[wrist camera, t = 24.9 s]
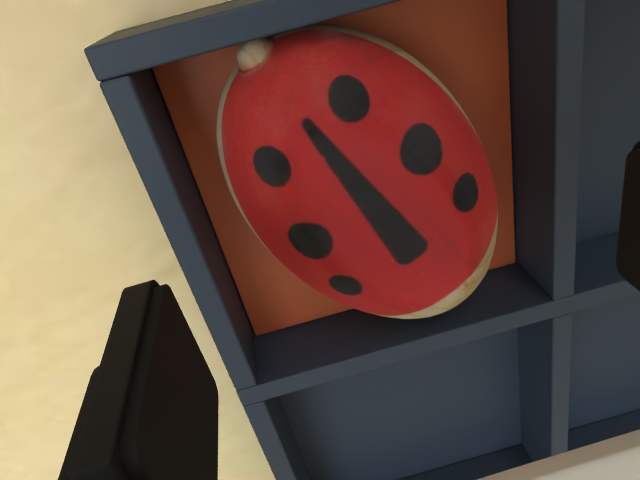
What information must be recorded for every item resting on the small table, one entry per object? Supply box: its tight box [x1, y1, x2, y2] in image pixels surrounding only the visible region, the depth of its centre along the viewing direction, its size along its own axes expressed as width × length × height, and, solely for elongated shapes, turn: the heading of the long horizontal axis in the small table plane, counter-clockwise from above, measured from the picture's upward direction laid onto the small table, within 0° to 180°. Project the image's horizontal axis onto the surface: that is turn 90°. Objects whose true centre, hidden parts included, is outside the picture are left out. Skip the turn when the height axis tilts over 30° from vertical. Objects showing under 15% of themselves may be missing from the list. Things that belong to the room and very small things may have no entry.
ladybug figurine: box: [216, 25, 498, 319], centre depth 13 cm, size 7×10×4 cm
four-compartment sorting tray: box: [84, 0, 640, 480], centre depth 17 cm, size 21×21×3 cm
